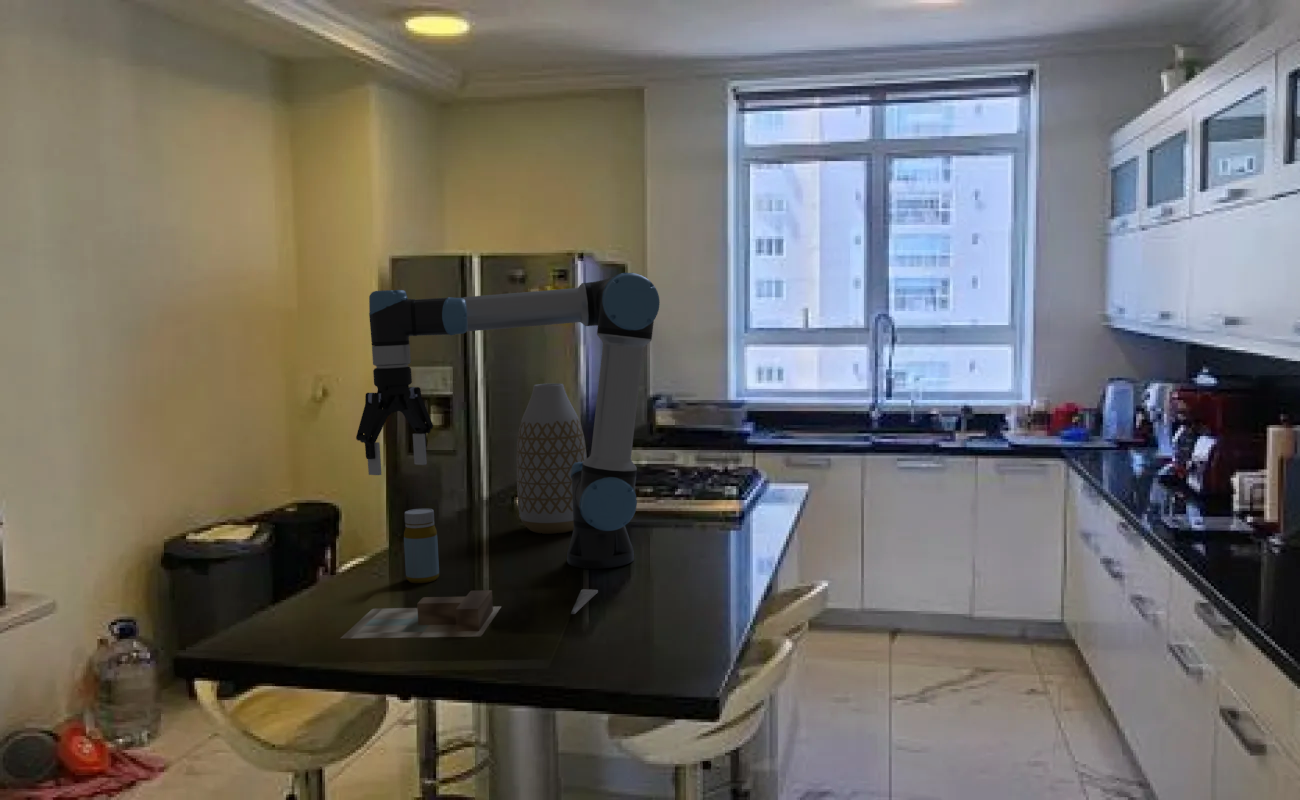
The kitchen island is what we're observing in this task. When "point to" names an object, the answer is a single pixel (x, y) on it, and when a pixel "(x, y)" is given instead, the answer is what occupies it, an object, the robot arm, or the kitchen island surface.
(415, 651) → the kitchen island surface
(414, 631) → the board
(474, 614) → the t block
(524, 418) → the vase
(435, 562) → the bottle
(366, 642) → the kitchen island surface
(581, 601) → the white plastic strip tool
